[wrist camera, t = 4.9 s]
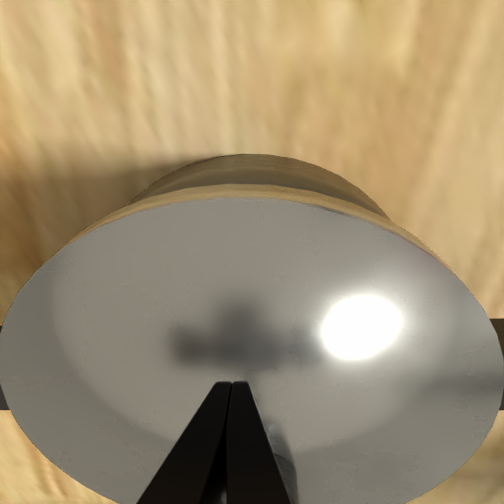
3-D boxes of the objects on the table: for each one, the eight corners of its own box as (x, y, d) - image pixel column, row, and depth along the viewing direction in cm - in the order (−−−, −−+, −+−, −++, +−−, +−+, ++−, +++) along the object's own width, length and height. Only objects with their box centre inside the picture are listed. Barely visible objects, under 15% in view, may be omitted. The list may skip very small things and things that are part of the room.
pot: (440, 432, 21) (486, 525, 17) (90, 431, 23) (47, 517, 18) (537, 141, 13) (677, 173, 9) (-25, 165, 14) (-154, 204, 10)
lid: (425, 505, 16) (456, 591, 13) (97, 500, 17) (66, 579, 14) (567, 170, 8) (712, 223, 5) (-75, 195, 9) (-215, 249, 6)
